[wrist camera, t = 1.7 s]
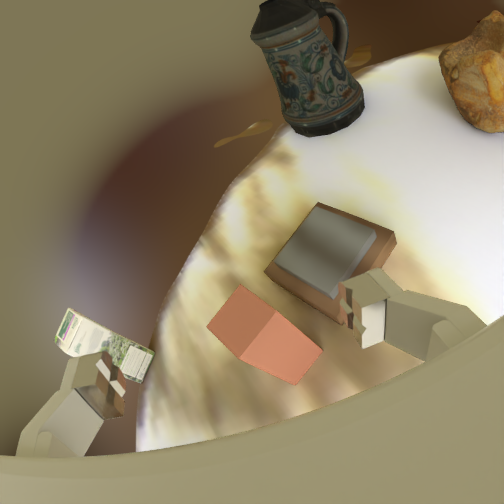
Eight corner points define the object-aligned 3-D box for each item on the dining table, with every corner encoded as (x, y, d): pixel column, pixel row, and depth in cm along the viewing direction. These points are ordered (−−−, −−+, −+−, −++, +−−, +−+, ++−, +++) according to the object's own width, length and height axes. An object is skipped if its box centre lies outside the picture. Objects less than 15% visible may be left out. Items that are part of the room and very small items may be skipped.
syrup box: (137, 342, 50) (66, 305, 40) (157, 353, 47) (81, 315, 36) (123, 371, 48) (51, 339, 38) (143, 385, 44) (64, 353, 34)
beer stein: (275, 137, 61) (205, 35, 44) (315, 84, 66) (263, -7, 48) (349, 140, 50) (283, 8, 33) (381, 81, 55) (334, -27, 37)
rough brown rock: (467, 66, 46) (446, 3, 36) (537, 81, 33) (524, 9, 24) (424, 127, 45) (395, 50, 36) (512, 152, 32) (500, 61, 23)
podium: (324, 213, 45) (313, 194, 42) (396, 243, 36) (391, 223, 33) (272, 280, 43) (257, 265, 40) (341, 325, 35) (331, 312, 32)
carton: (292, 328, 38) (240, 284, 29) (323, 350, 34) (276, 310, 26) (266, 360, 37) (206, 326, 29) (295, 385, 34) (238, 358, 25)
